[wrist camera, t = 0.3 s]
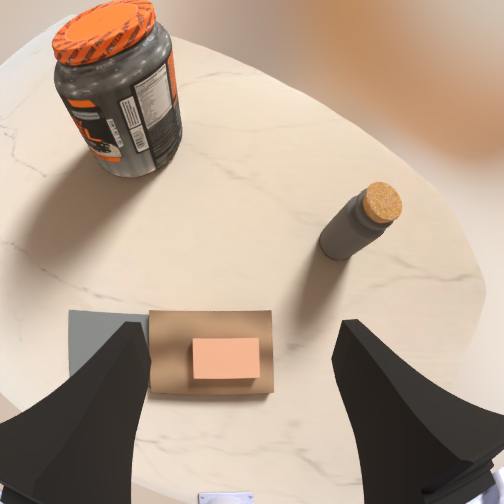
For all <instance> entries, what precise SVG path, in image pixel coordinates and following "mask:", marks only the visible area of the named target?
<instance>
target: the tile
mask: <svg viewBox="0 0 504 504" xmlns="http://www.w3.org/2000/svg"><path fill="white" fill-rule="evenodd" d="M193 370H194V379H234V378H260V362H259V338H193Z"/></svg>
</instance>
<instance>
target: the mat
mask: <svg viewBox="0 0 504 504" xmlns="http://www.w3.org/2000/svg"><path fill="white" fill-rule="evenodd" d="M125 321H129V322H141V325H142V329H143V332H144V336H145V340H146V343H147V347H148V350H149V315H142V314H121V313H104V312H89V311H77V310H69V371H70V376H73V375H74V374H75V373H76V372H77V371H78V370H79V369H80V368H81V367H82V366H83V365H84V364H85V363H86V362H87V361H88V360H89V359H90V358H91V357H92V356H93V355H94V354H95V353H96V352H97V351H98V350H99V349H100V348H101V347H102V346H103V344H104V343H105V342H106V341H107V340H108V339H109V338H110V337H111V336H112V335H113V334H114V333H115V332H116V331H117V329H118V328H119V327H120V326H121V325H122V324H123V323H124V322H125ZM148 386H151V382H150V377H149V383H148Z"/></svg>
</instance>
